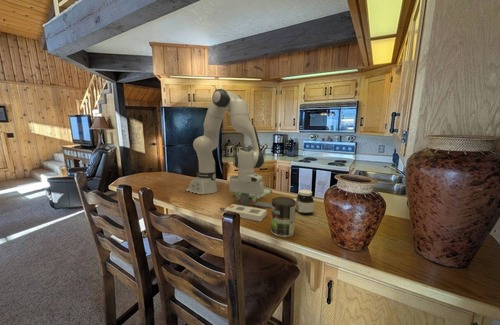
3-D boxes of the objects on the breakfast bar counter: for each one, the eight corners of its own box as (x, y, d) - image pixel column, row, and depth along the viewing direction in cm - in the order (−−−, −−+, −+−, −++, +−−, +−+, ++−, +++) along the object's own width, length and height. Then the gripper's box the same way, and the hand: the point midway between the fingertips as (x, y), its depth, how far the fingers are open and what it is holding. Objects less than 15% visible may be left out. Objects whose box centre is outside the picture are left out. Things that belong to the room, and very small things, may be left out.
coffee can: (278, 239, 87) (279, 206, 85) (266, 228, 97) (267, 198, 94) (299, 234, 91) (301, 203, 89) (286, 224, 101) (287, 195, 98)
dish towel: (272, 192, 151) (272, 187, 151) (255, 201, 132) (255, 196, 132) (252, 188, 161) (252, 184, 160) (233, 196, 142) (233, 191, 141)
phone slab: (252, 206, 124) (252, 204, 124) (256, 202, 131) (256, 201, 131) (276, 210, 119) (276, 208, 119) (279, 206, 126) (279, 204, 126)
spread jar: (315, 215, 111) (316, 194, 110) (294, 216, 110) (295, 194, 108) (305, 207, 123) (306, 187, 121) (286, 208, 121) (287, 188, 119)
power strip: (216, 213, 112) (215, 206, 112) (224, 207, 121) (224, 201, 120) (260, 222, 103) (260, 215, 102) (266, 215, 111) (266, 208, 110)
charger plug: (240, 207, 121) (240, 194, 119) (243, 205, 124) (243, 192, 123) (246, 208, 119) (246, 194, 118) (248, 206, 123) (249, 193, 121)
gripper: (226, 176, 120) (227, 199, 122) (261, 179, 112) (261, 204, 115) (232, 174, 126) (232, 196, 128) (265, 177, 118) (264, 201, 120)
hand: (246, 200), depth 121 cm, fingers open, 8 cm apart
